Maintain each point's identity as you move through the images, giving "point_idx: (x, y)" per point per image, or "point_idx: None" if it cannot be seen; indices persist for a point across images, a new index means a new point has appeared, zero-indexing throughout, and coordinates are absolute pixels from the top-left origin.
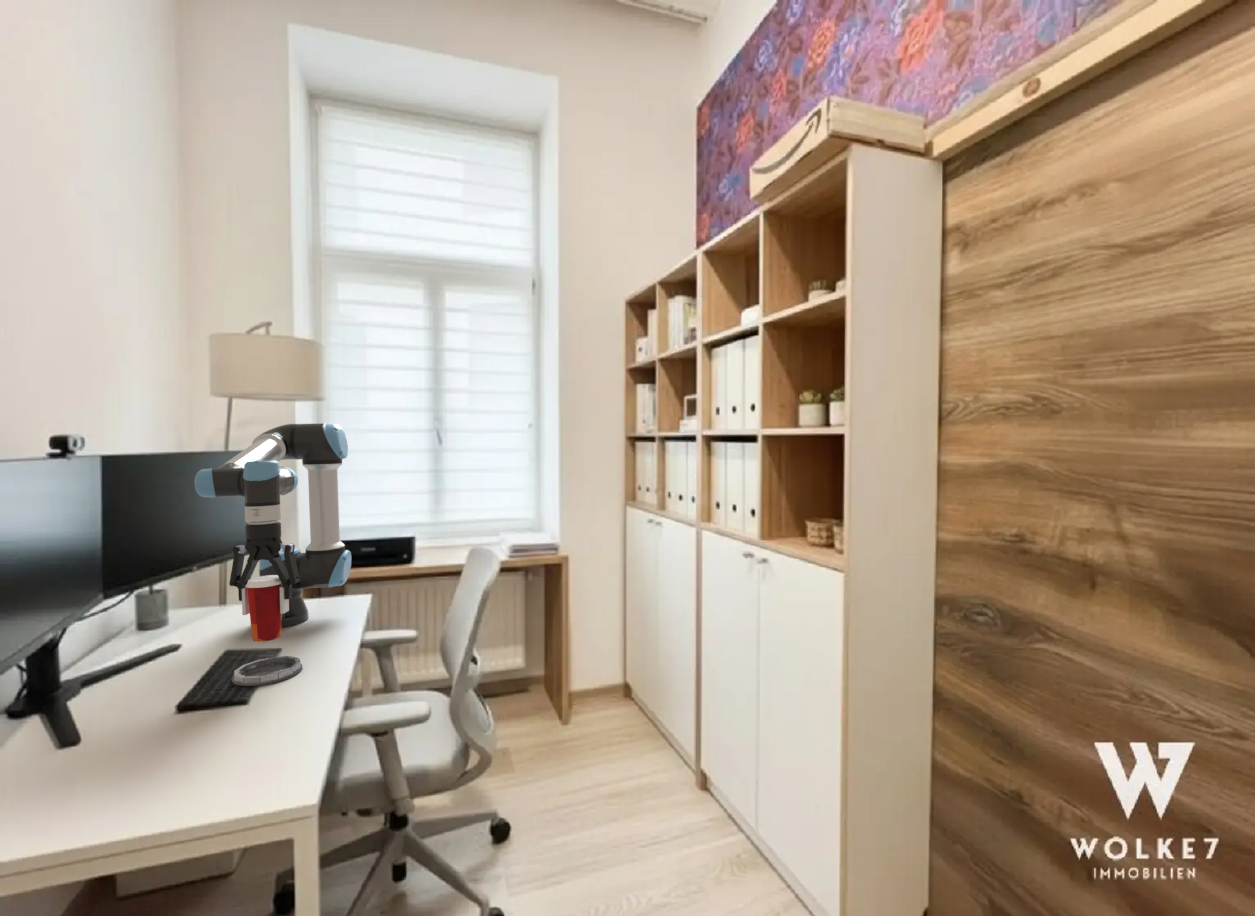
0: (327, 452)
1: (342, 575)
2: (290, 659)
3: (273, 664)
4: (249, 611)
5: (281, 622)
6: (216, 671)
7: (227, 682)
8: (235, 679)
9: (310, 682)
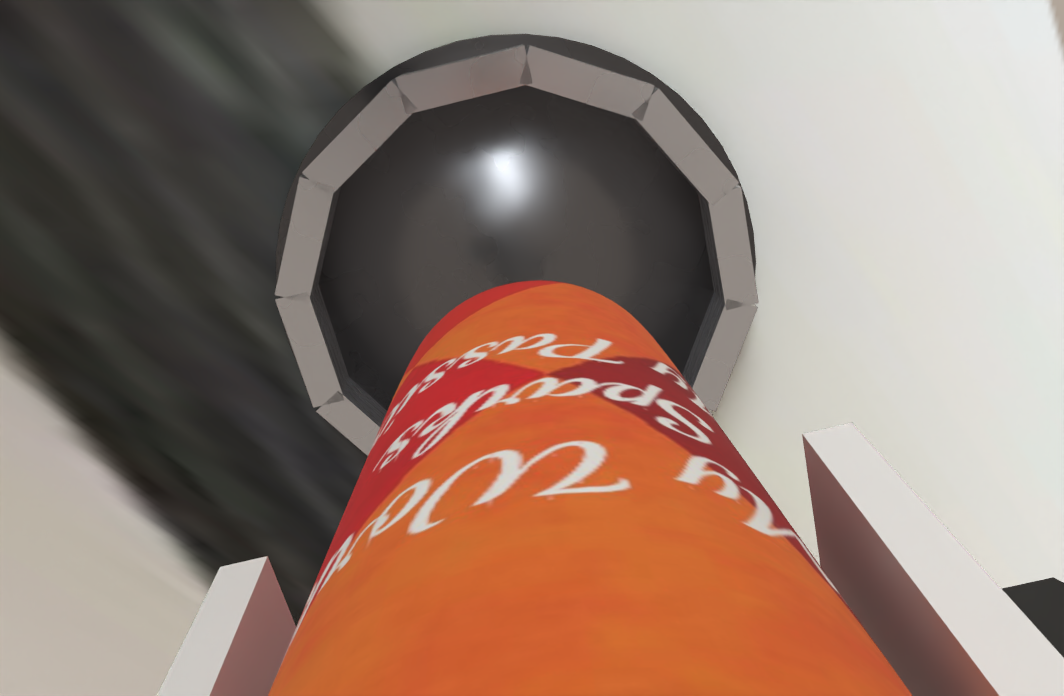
0: None
1: None
2: (573, 98)
3: (430, 134)
4: (283, 628)
5: (682, 376)
6: (33, 280)
7: (332, 441)
8: None
9: (937, 364)
